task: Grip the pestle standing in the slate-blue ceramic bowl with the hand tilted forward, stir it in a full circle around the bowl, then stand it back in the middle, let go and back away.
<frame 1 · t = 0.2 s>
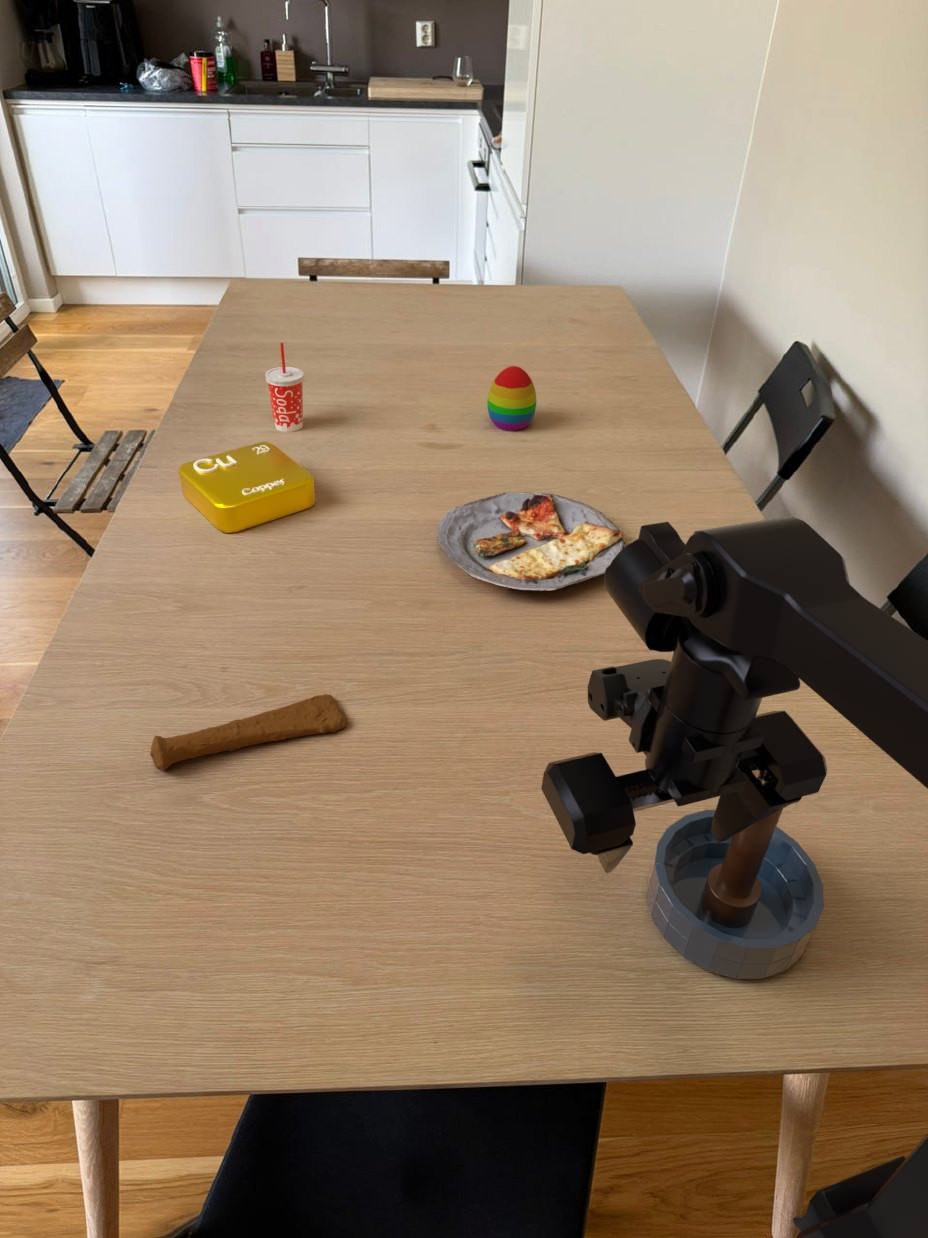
hand: (661, 851, 65), 13 cm above the table, tool pointing down, fingers open, 9 cm apart
bowl: (725, 909, 77), on the table
element tile: (249, 499, 128), on the table
decorative egg: (510, 424, 151), on the table
food plate: (530, 550, 121), on the table
primitive tool: (254, 737, 91), on the table
beverage cup: (289, 426, 148), on the table
pestle: (726, 905, 76), point 1 cm above the table, touching bowl
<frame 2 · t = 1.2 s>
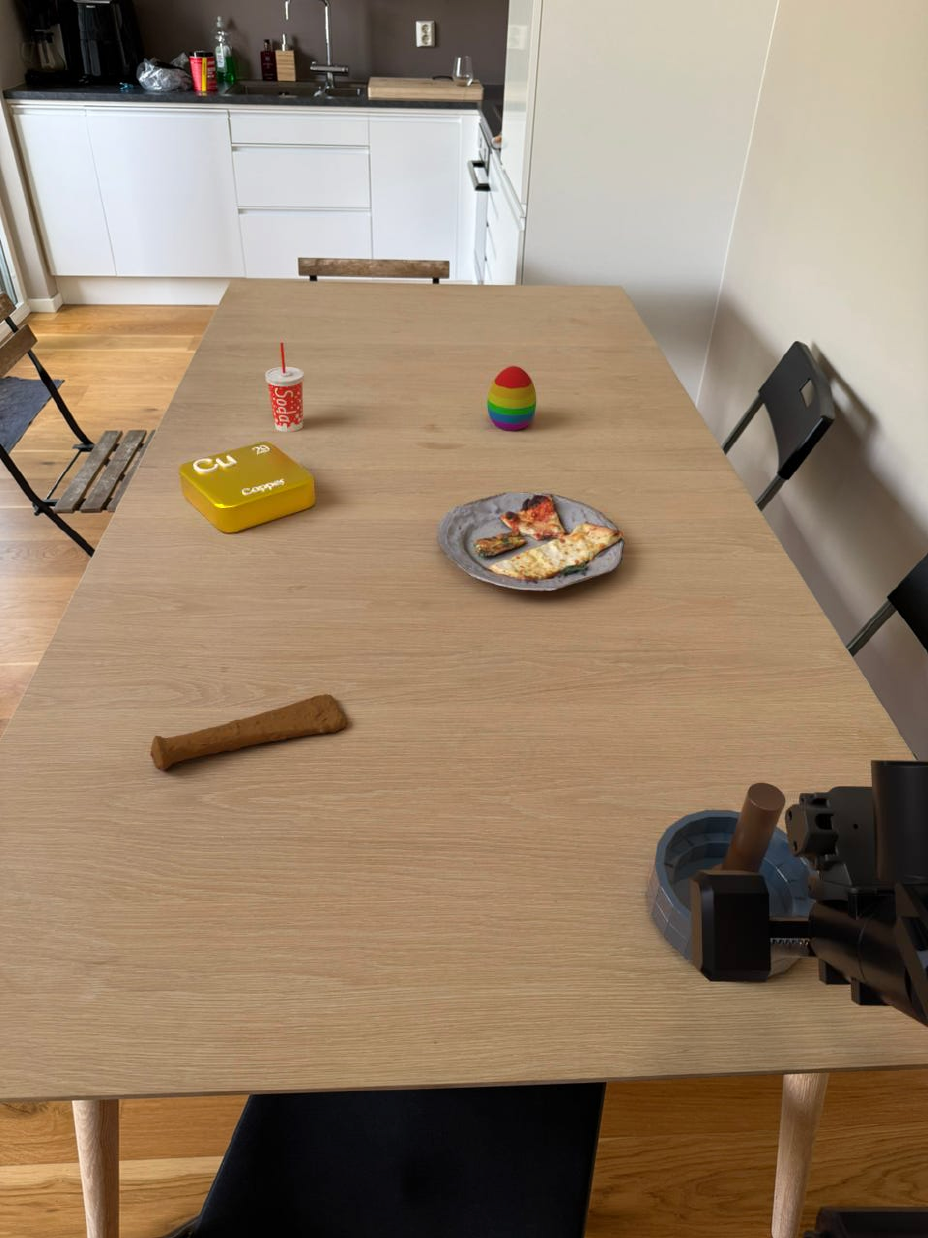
hand: (792, 901, 62), 13 cm above the table, tool tilted 45°, fingers open, 9 cm apart
nothing on the table moved.
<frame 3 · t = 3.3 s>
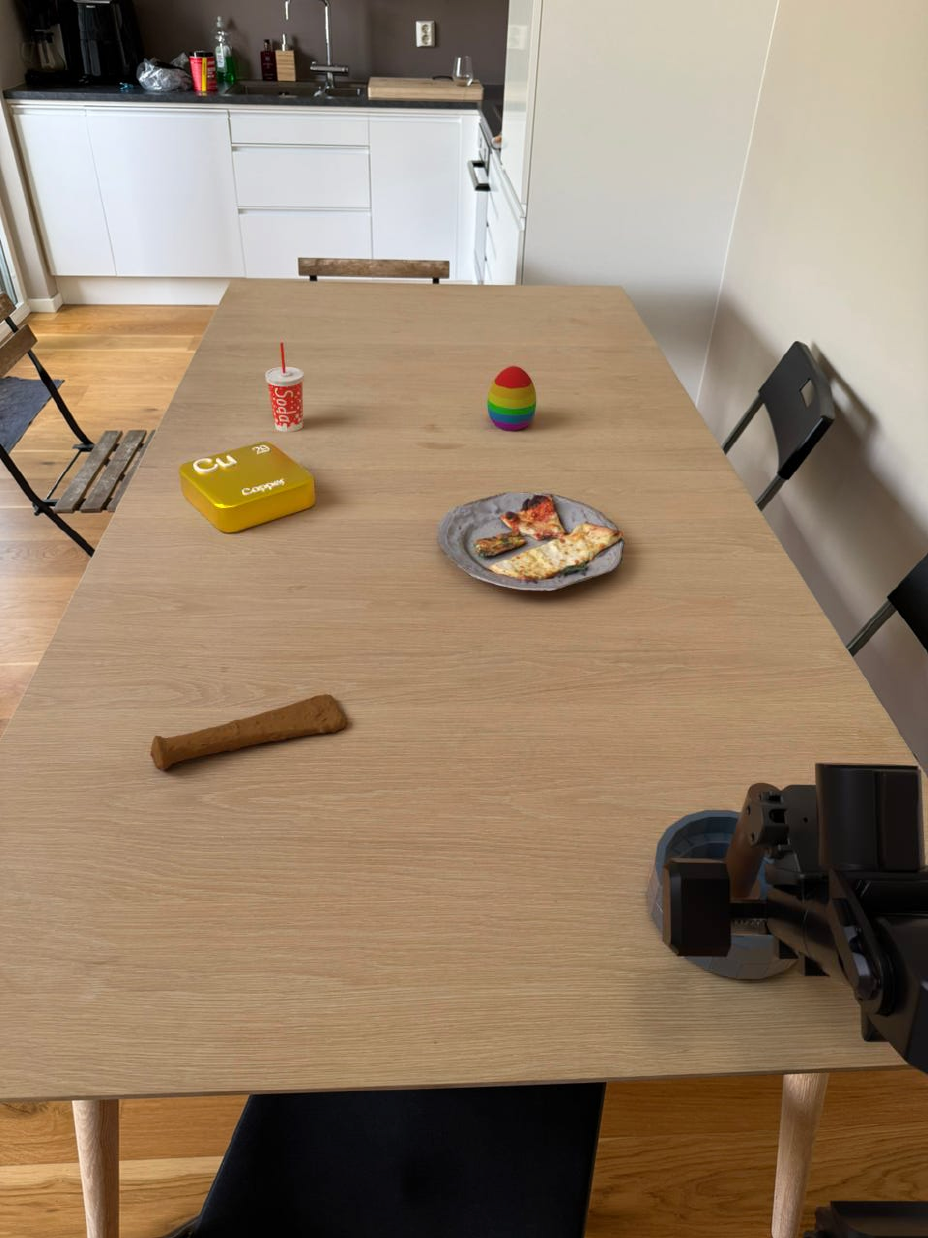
hand: (756, 886, 69), 8 cm above the table, tool tilted 45°, fingers open, 9 cm apart
nothing on the table moved.
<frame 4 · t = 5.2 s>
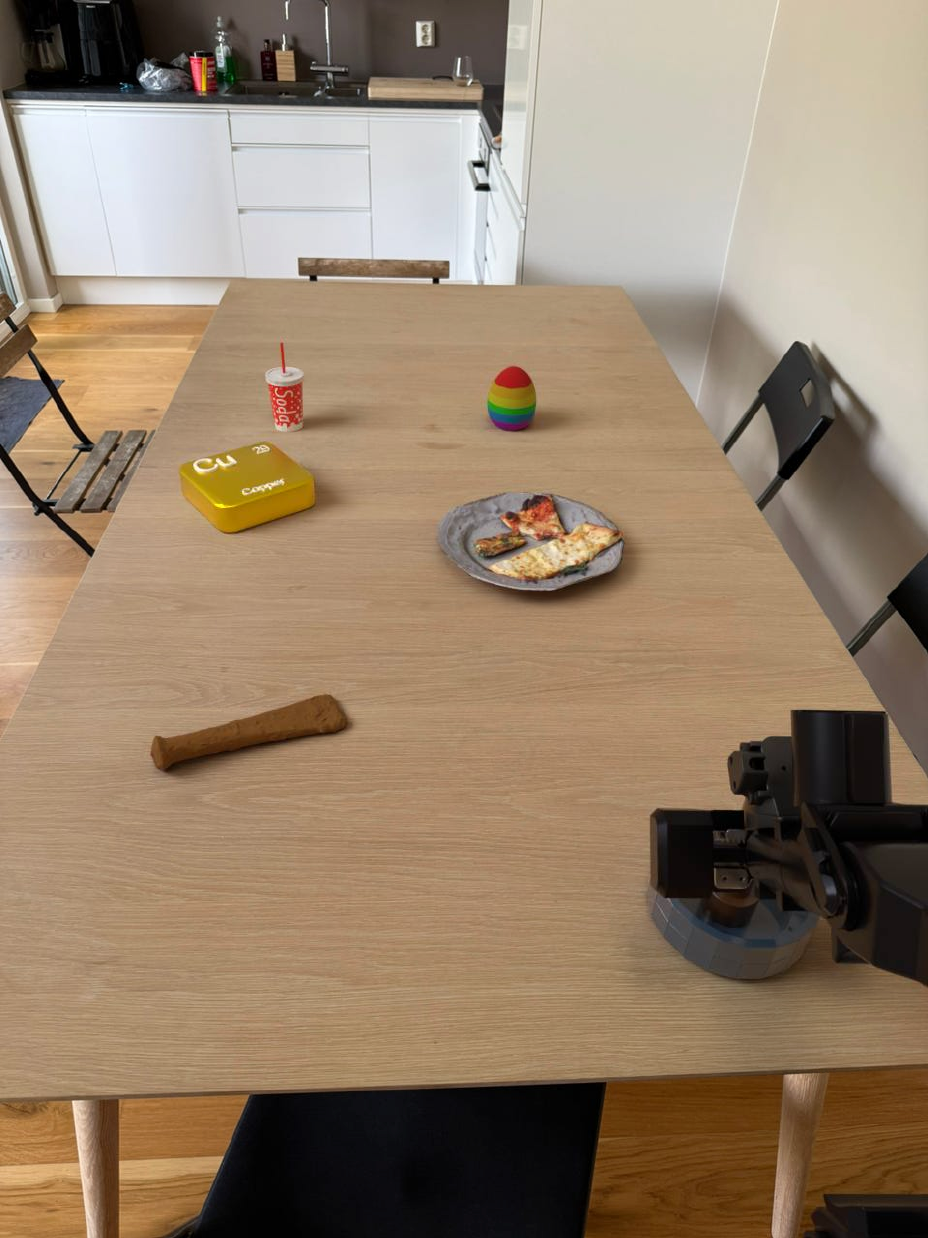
hand: (741, 840, 73), 8 cm above the table, tool tilted 45°, fingers closed on pestle, 3 cm apart
pestle: (726, 905, 76), point 1 cm above the table, touching bowl, gripper
everything else where it was.
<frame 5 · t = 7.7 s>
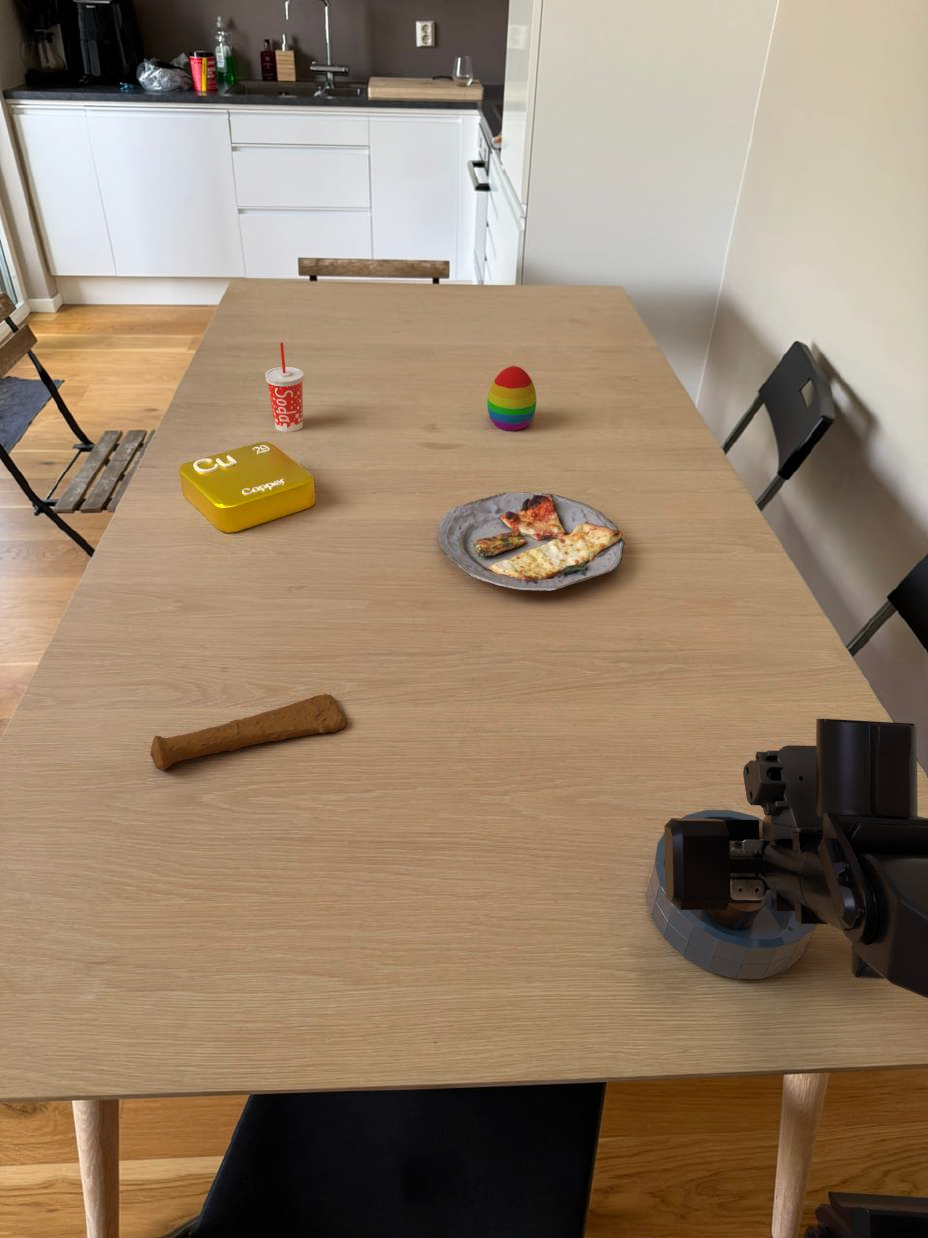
hand: (754, 849, 72), 8 cm above the table, tool tilted 45°, fingers closed on pestle, 3 cm apart
pestle: (729, 905, 76), point 1 cm above the table, tilted 8°, touching gripper
everything else where it was.
when the fingers open (8 cm above the table, at t = 9.6 s): pestle stays where it is, resting on bowl.
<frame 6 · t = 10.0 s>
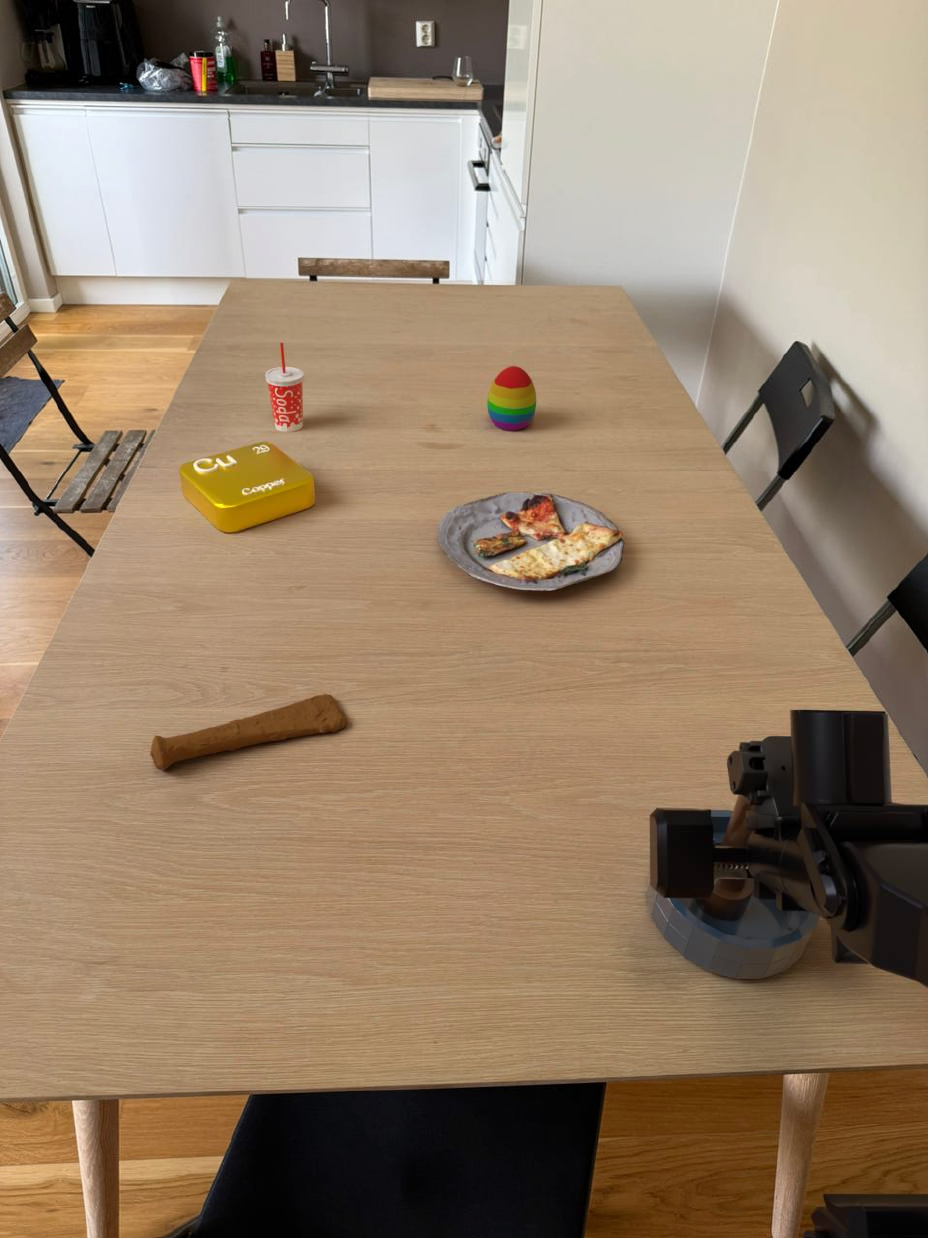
hand: (740, 840, 73), 8 cm above the table, tool tilted 45°, fingers open, 8 cm apart
pestle: (720, 898, 77), point 1 cm above the table, touching bowl
everything else where it was.
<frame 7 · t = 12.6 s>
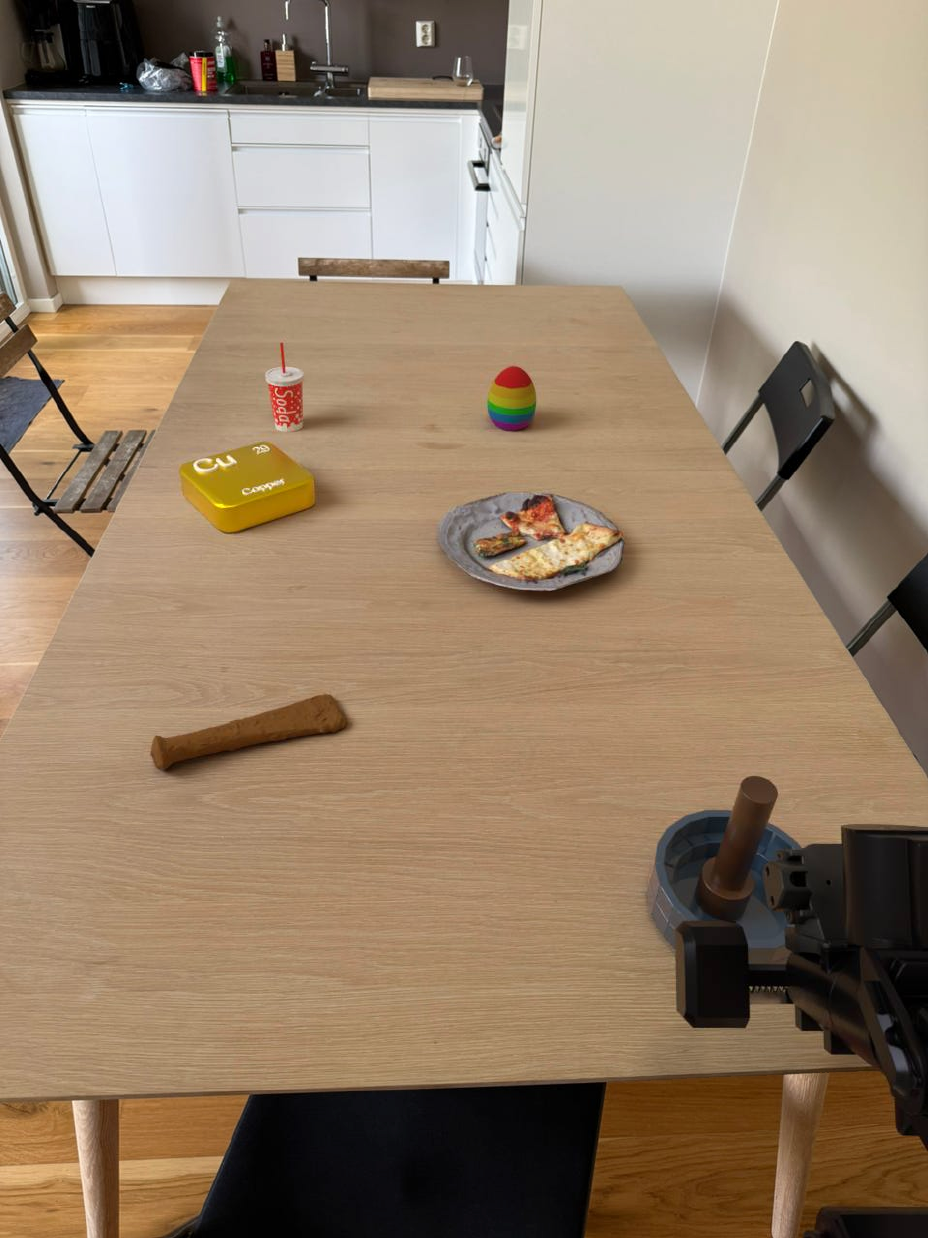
hand: (774, 944, 66), 8 cm above the table, tool tilted 45°, fingers open, 9 cm apart
nothing on the table moved.
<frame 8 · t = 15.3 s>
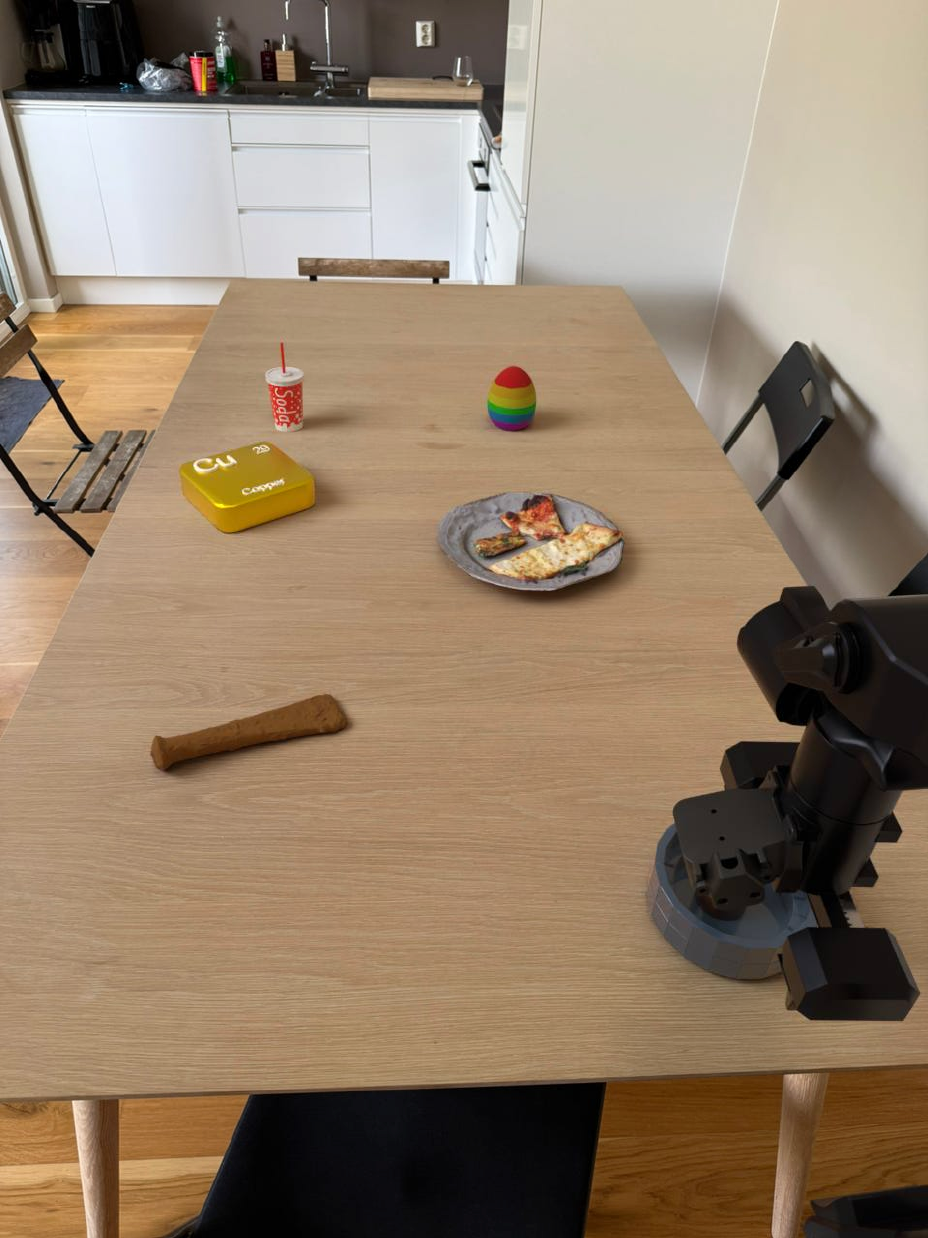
hand: (772, 942, 60), 13 cm above the table, tool pointing down, fingers open, 9 cm apart
nothing on the table moved.
at the end: pestle inside the target area in the bowl (0.8 cm from its centre), point 0.6 cm above the bowl's base; pestle tilted 0°; the gripper is holding nothing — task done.
